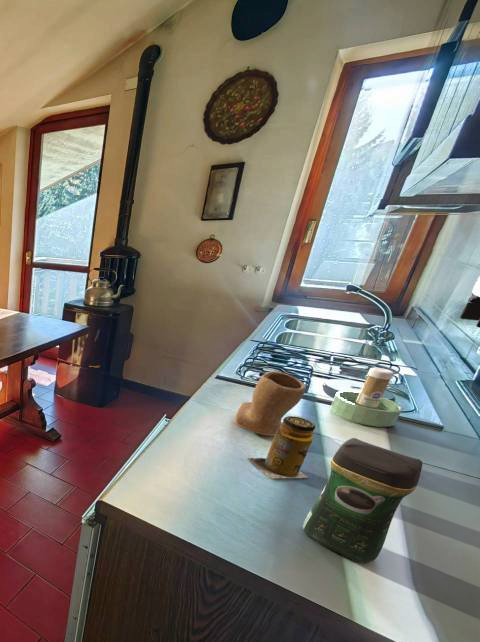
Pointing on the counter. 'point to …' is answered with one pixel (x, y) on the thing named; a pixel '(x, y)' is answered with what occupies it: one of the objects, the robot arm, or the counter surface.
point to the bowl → (365, 410)
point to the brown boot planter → (270, 403)
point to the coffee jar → (361, 499)
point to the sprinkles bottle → (374, 387)
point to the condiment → (287, 449)
